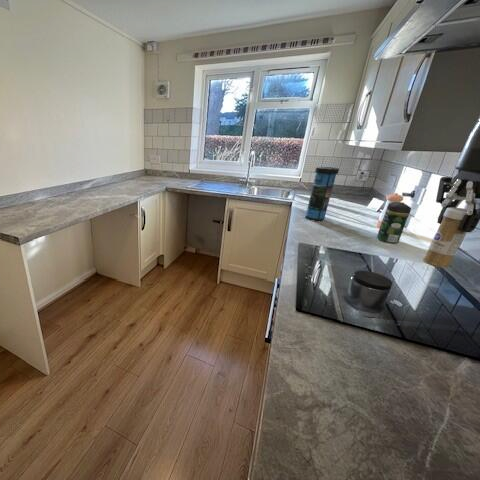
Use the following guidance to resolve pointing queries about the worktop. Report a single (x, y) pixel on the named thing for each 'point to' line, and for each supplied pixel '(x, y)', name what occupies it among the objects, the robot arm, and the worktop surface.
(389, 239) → the coffee jar
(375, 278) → the squat metal tin
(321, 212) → the advertising column
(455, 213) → the sprinkles bottle
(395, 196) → the pepper shaker
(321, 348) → the worktop surface
